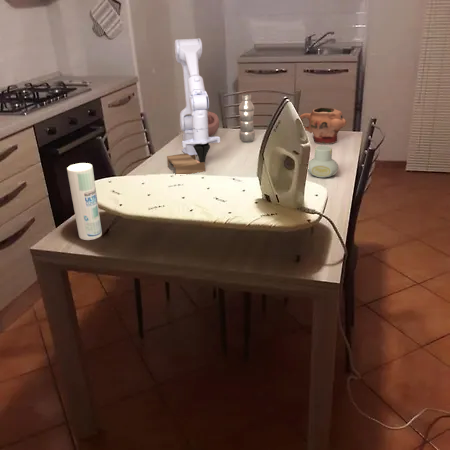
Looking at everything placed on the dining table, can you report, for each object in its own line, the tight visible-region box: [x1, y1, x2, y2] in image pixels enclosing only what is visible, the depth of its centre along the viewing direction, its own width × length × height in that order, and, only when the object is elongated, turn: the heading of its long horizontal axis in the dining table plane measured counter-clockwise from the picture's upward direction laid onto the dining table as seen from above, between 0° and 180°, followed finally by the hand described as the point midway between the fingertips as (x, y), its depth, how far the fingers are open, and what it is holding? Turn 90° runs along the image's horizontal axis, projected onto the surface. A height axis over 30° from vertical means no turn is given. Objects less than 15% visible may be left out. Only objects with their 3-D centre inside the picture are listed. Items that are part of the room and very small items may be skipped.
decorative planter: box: [299, 107, 347, 145], centre depth 213 cm, size 20×12×14 cm, turn 78°
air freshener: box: [307, 145, 339, 179], centre depth 176 cm, size 11×8×10 cm
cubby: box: [166, 153, 206, 175], centre depth 188 cm, size 11×11×4 cm
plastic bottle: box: [238, 93, 256, 143], centre depth 215 cm, size 6×7×20 cm
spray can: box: [66, 162, 103, 241], centre depth 136 cm, size 6×6×20 cm
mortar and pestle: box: [208, 111, 220, 137], centre depth 226 cm, size 12×12×11 cm
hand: (202, 163), depth 190 cm, fingers closed
